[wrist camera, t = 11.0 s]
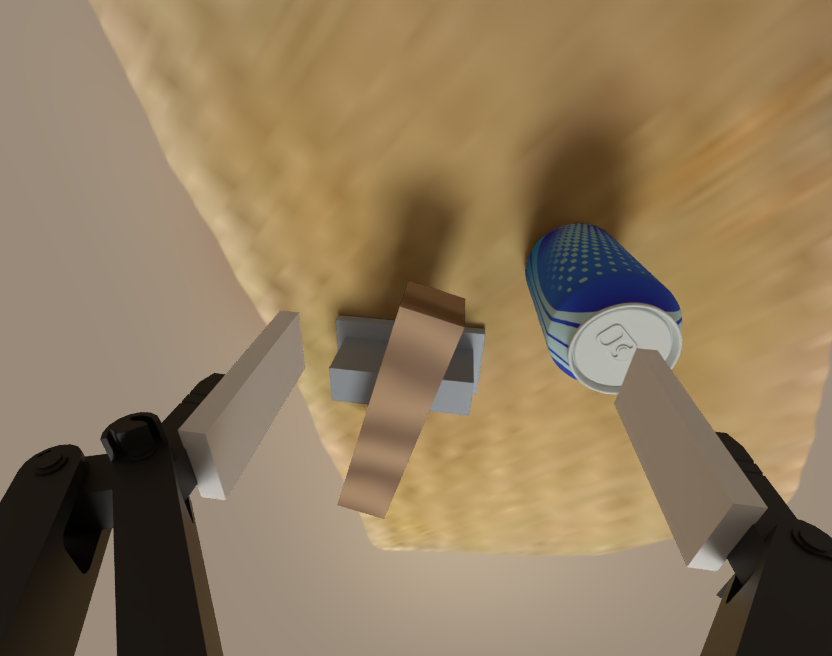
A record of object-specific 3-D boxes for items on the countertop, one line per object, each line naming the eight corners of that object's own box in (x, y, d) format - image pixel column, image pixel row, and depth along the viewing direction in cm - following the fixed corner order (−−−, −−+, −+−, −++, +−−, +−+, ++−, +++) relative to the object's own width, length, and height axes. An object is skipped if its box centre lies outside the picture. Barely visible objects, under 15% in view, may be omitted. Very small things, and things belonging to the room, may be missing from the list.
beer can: (622, 217, 36) (717, 287, 22) (608, 302, 40) (681, 406, 26) (526, 221, 37) (559, 291, 23) (521, 303, 41) (547, 404, 27)
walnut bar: (408, 280, 34) (399, 306, 29) (465, 298, 34) (464, 327, 30) (349, 466, 46) (337, 505, 41) (392, 479, 46) (384, 518, 41)
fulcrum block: (339, 315, 44) (317, 349, 38) (484, 328, 43) (487, 366, 37) (342, 374, 48) (323, 414, 42) (476, 388, 47) (477, 431, 41)
